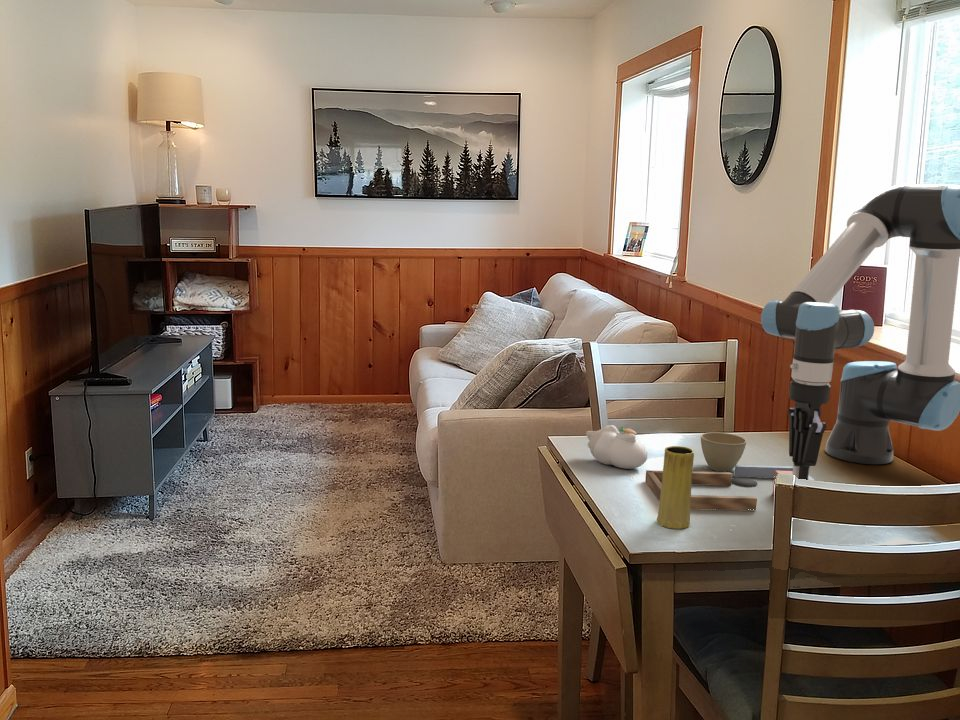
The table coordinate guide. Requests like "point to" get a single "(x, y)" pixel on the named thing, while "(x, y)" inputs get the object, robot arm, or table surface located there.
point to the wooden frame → (706, 500)
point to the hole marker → (744, 482)
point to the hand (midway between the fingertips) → (798, 495)
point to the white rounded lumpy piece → (617, 447)
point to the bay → (760, 471)
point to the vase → (676, 488)
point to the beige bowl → (722, 450)
